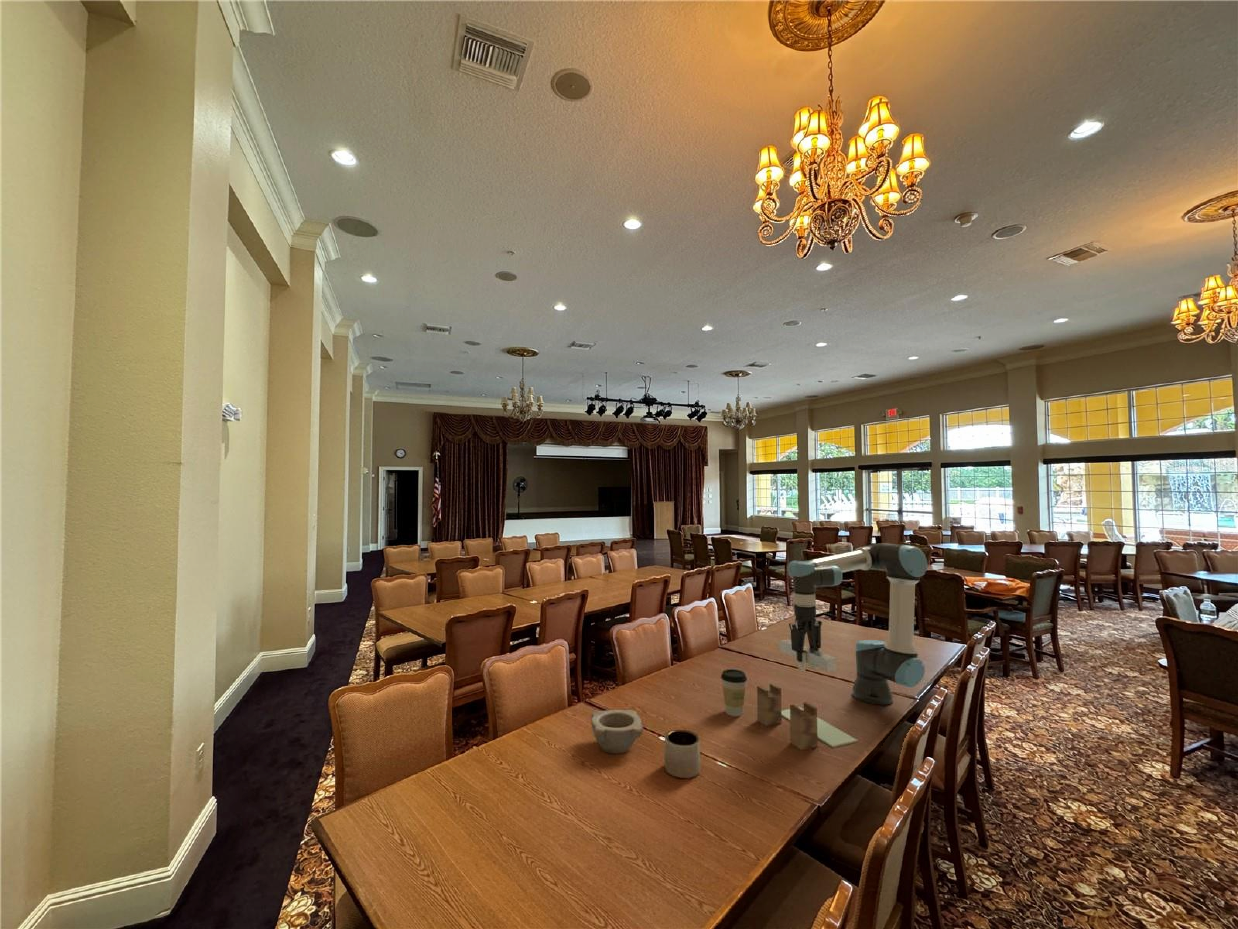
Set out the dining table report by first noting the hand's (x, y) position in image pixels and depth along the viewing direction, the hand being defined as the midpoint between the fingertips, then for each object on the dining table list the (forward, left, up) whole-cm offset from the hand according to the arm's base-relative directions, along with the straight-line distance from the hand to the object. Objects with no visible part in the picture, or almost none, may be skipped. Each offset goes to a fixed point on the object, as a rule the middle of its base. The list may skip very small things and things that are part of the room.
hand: (807, 669), depth 178 cm
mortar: (+70, -12, -21) cm, 74 cm away
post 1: (+10, -9, -21) cm, 25 cm away
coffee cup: (+18, -20, -21) cm, 34 cm away
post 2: (+10, +9, -21) cm, 25 cm away
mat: (-3, 0, -21) cm, 21 cm away
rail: (0, 0, +3) cm, 3 cm away
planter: (+56, +8, -21) cm, 60 cm away
